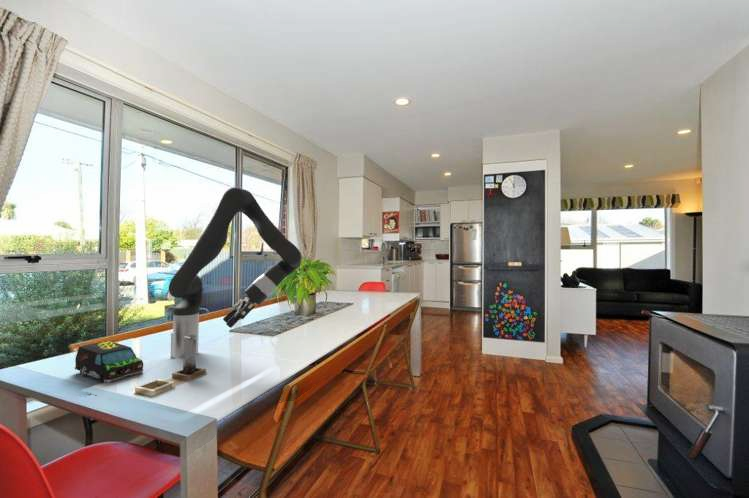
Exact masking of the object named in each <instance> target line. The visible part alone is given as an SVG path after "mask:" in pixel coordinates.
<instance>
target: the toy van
mask: <svg viewBox="0 0 749 498" xmlns="http://www.w3.org/2000/svg"><path fill="white" fill-rule="evenodd" d="M74 361H75V367H74V370H76V371H79V375H82V376H81V377H82V378H83V377H85V376H86V377H89V376H90V377H93V378H95V379H97V380H100V381H101V384H104V383H108V384H110V383H114V382H117V381H120V380H123V379H127V378H130V377H133V376H137V375H140V374H142V373H143V372H144V362H143V360H142V359H140V358H138V357H137V355H136V353H135V352H134V350H133V348H132V347H130V346H128V345H124V344H120V343H117V342H113V341H109V340H103V341H100V342H99V341H98V342H93V343H89V344H84V345H81V346H79V347H78V350H77V352H76V356H75V359H74Z"/></svg>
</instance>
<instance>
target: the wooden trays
mask: <svg viewBox="0 0 749 498" xmlns="http://www.w3.org/2000/svg"><path fill="white" fill-rule="evenodd" d="M206 374H207V369H206V368H202V367H197V366H196V372H195V373H193V374H190V375H186V374H183V368H182V369H180V370H178V371H174V372H172V373H171V378H168V379H161V378H160V379H159V378H157V379H153V380H152V381H148V382H146V383H144V384H140V385H137V386H135V387H134V392H133V394H134V395H138V396H144V397H147V398H152V397H156V396H157V395H159V394H162V393H164V392H166V391H168V390H171V389H173V388H175V387H178V386H180V385H183V384H184V383H188V382H190V381H193V380H194V379H196V378H199V377H201V376H203V375H206Z"/></svg>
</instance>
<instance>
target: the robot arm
mask: <svg viewBox="0 0 749 498" xmlns="http://www.w3.org/2000/svg"><path fill="white" fill-rule="evenodd" d="M237 213H242V214H244V215H245V216H246V217H247V218H249V220H250V221H251V222H252V223H253V224H254V227H255V228H256V231H257V233H258V234H259V236H260V238H261V239H262V240H263V241H264V242H265V244H266V245H267V246H268V247H269V248H270V250H272V251H274V252H276V253H277V255H278V256H279V257H281V259H280V260H279V261H278V262H277V263H276V264H272V265H271V266H270V267H268V269H266V270H265V271H264V272H263V273H262V274H261V275H260V276H259V277H257V278H256V279H255V280H254V281H253V282H252V283H251V284H250V285H249V286H247V288H246V289H245V290H244V291H243V293H244V294H245V297H244V296H243V297H241V298H240V299H239V300H238V301H237V302H235V304H234V305H233V306H232V307H231V308H230V312H228V313H227V314H226V315H225V316H224V317H223V318H222V320H223V321H224V322H225V324H226V326H227V327H229V328H233V327H234V326H235V325H236V323H237V322H239V320H244V319H245V318H246V317H247V315H249V313H250V312H251V311H252V310H253V309H254V308H255V307H256V306H255V305H257V306H260V305H262V303H263V302H264V301H266V299H267V298H269V296H271V294H272V293H273V292H274V291H275V290H276V288H277V287H278V286H279V285H280V284H281V283H282V282H283V281H284V280H285V279H286V278H287V277H288V276H289V275H290V274H292V273H293V272H295V271H296V270H297V269H298V268H299V267H300V265H301V263H302V252H301V251H300V249H299V248H298V247H297V246H296V245H295V244H294V243H292V242H291V241H290V240H289V239H287V237H286V236H285V235H284V233H282V232H281V230H280V229H279V228H277V226H276V225H275V224H274V223H273V221H272V220H271V219H270V218H269V217H268V216H267V215H266V213H265V211H264V210H263V208H262V207H261V206H260V204H259V202H258V201H257V199H256V197H254V195H253V193H252V192H250V191H249V190H246V189H244V188H240V187H236V186H235V187H230V188H228V189H226V191H225V192H224V193H223V195H222V197H221V199H220V201H219V204H218V205H217V207H216V210H215V212H214V213H213V215H212V217H211V218H210V221H209V223H208V224H207V225H206V228H205V229H204V230H203V232H202V234H201V235H200V237H199V238H198V240H197V241H196V244H195V245H194V247H193V249H192V250H191V252H190V253H189V255H188V257H187V258H186V259H185V261H184V262H183V264H182V265H181V267H179V269H178V270H177V271H176V273H175V274H174V275H173V276H172V278H171V280H169V281H170V282H169V284H168V293H169V295H171V296H172V298H176V299H181V301H180V302H179V303H178V304H177V305H175V306H174V307H173V308H172V309H173V310H172V311H173V312H172V317H173V318H172V332H171V334H170V357H172V358H173V359H177V358H180V357H183V339H184V337H185V336H189V335H196V336H197V338H196V354H199V340H200V338H199V337H200V336H199V331H200V327H199V326H200V308H201V306H202V300H203V299H202V298H203V281H202V278H201V277H200V276H199V275H198V274H199V273H200V272H201V271H202V270H203V269H205V268H206V267H207V266H208V265H209V264H210V263H212V262H213V261H214V260H215V259H216V258H217V257H218V256H219V255H220V253H221V252H222V251H223V249H224V247H225V245H226V243H227V241H228V236H229V235H228V234H229V233H228V232H229V228H230V224H231V222H232V221H233V219H234V218H235V217H236V215H237ZM254 304H255V305H254Z"/></svg>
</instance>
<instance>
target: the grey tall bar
mask: <svg viewBox="0 0 749 498" xmlns="http://www.w3.org/2000/svg"><path fill="white" fill-rule="evenodd" d="M196 338H197V336H196V335H189V336H185V337H184V339H183V356H182V369H183V374H186V375H190V374H193V373H195V372H196V367H197V353H196Z"/></svg>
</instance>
